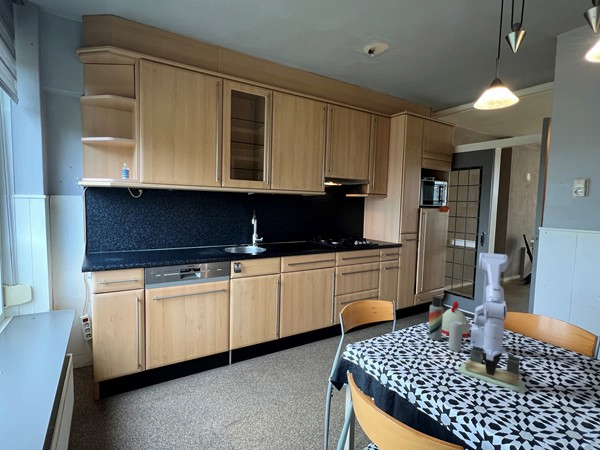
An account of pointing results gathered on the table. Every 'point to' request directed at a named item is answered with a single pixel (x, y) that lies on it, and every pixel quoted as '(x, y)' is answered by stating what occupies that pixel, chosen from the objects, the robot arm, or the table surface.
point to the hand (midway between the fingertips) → (490, 372)
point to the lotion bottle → (435, 319)
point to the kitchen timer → (455, 315)
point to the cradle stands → (511, 361)
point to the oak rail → (498, 373)
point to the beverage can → (455, 336)
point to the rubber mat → (493, 380)
